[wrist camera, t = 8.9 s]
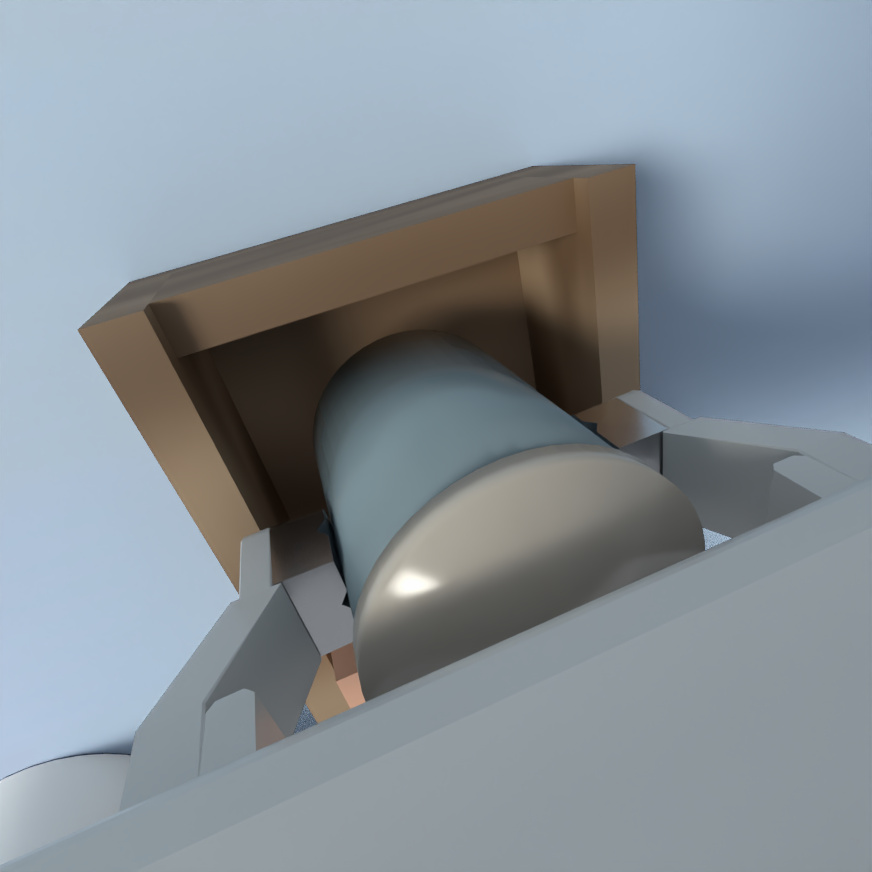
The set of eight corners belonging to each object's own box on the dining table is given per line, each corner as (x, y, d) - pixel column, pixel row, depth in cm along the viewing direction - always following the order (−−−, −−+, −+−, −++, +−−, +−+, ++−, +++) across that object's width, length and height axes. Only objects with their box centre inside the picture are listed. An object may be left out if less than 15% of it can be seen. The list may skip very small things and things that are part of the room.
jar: (272, 367, 11) (297, 565, 5) (496, 295, 12) (714, 402, 6) (347, 546, 14) (415, 803, 8) (526, 477, 14) (698, 666, 9)
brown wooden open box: (129, 281, 11) (15, 386, 6) (532, 166, 13) (744, 161, 7) (341, 681, 19) (378, 893, 13) (579, 577, 21) (701, 727, 15)
